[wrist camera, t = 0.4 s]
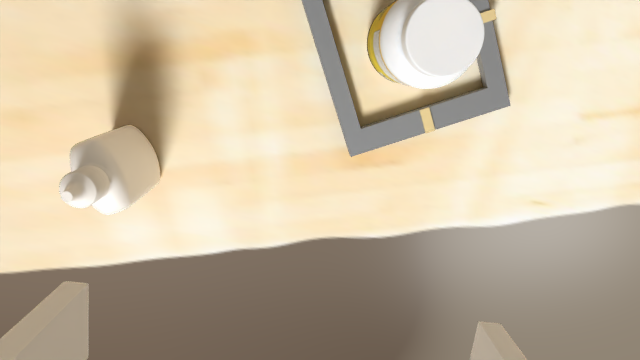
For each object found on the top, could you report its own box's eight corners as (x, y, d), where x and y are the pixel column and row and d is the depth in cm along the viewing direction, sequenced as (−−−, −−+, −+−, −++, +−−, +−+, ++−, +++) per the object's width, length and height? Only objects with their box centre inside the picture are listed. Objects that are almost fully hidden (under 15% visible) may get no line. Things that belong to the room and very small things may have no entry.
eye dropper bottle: (110, 184, 40) (29, 234, 28) (112, 121, 38) (29, 146, 27) (160, 191, 40) (101, 244, 29) (165, 128, 39) (105, 156, 27)
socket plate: (294, -23, 36) (294, -26, 35) (468, -83, 35) (474, -87, 34) (349, 154, 40) (350, 157, 39) (508, 103, 39) (514, 104, 38)
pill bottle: (448, 5, 37) (511, -19, 26) (436, 86, 39) (491, 97, 27) (369, -2, 37) (398, -31, 25) (360, 80, 38) (383, 87, 27)
